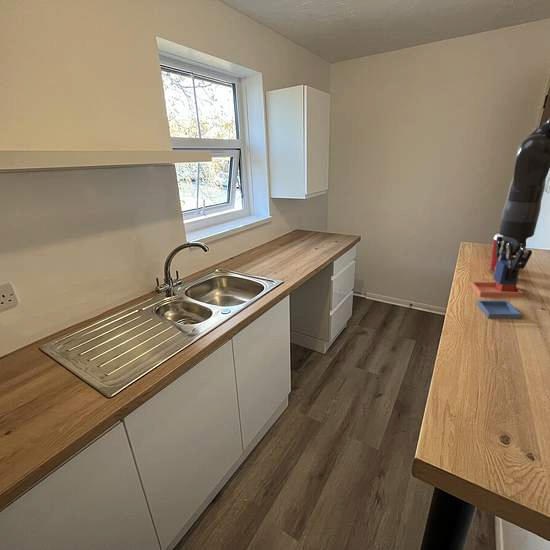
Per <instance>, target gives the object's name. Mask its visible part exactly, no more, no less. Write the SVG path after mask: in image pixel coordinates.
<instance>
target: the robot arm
mask: <svg viewBox="0 0 550 550" xmlns="http://www.w3.org/2000/svg"><path fill="white" fill-rule="evenodd" d="M549 172H550V117H549V118H548V119H546V120H545V121H544V122H543V123H541V125H540V126H538V127H537V128H536V129H535V130H533V132H531V133H530V134H528V136H527V137H526V138H524V139H523V140H522V141H521V143H520V144H519V145H518V147H517V149H516V155H515V161H514V167H513V174H512V179H511V181H510V184H509V187H508V192H507V196H506V200H505V204H504V206H503V210H502V215H501V219H500V224H499V227H498V234H500V235H502V236H503V237H497V240H496V257H499V258H498V260H508V268H507V271H506V275H505V280H506V281H514V280H515V277H516V273H517V270H518V269H520V270H524V269H525V267H526V265H527V264H528V262H529V260H530V258H531V256H532V254H533V251H532V249H527V248H526V247H527V240H528V239H529V238H532V237H533V236H534V235H535V233H536V228H537V224H538V221H539V216H540V212H541V208H542V207H541V206H542V200H543V196H544V194H545V192H544V191H545V188H546V183H547V181H546V180H547V177H548V175H549ZM511 256H513V257H511ZM513 260H514V262H513V264H512V261H513Z"/></svg>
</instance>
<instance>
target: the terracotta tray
mask: <svg viewBox="0 0 550 550" xmlns="http://www.w3.org/2000/svg"><path fill="white" fill-rule="evenodd" d="M495 286H496V281H471V282H470V287H471V289H473V290H474V292H475V293H476V295H478V296H479V297H494V298H495V297H496V298H497V297H502V298H523V297H524V291H522V290H521V289H520V288H519V287H518V286H516V289H515V292H498V291H497V290H496V289H495Z"/></svg>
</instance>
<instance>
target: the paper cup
mask: <svg viewBox="0 0 550 550" xmlns="http://www.w3.org/2000/svg"><path fill="white" fill-rule="evenodd" d="M497 237H503V236H502V235H500V234H499V233H496V234H495V235H494V237H493V245H492V253H491V261H490V270H491V271H493V272H495V267H496V263H497V260H498V258H499V257H496V240H497ZM511 257H514V256H511Z"/></svg>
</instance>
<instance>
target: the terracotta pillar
mask: <svg viewBox="0 0 550 550" xmlns="http://www.w3.org/2000/svg"><path fill="white" fill-rule="evenodd" d="M518 281H519V277H518V278H517V283H516V284H505V285H500V284H499V283H498V282H496V281H495V282H496V286H495V289H496V290H497V291H498V292H515V289H516V287H517V285H518Z"/></svg>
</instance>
